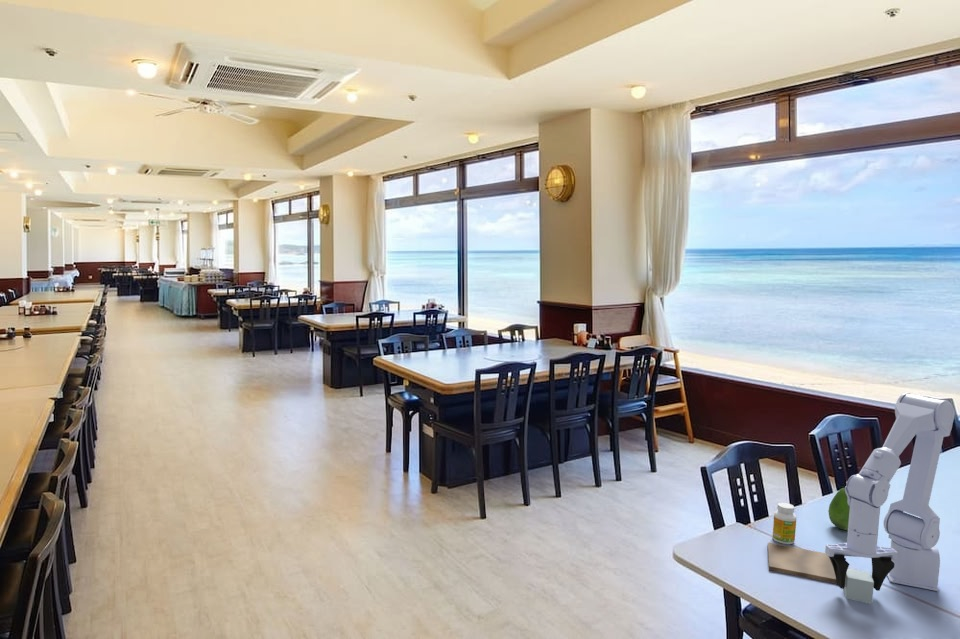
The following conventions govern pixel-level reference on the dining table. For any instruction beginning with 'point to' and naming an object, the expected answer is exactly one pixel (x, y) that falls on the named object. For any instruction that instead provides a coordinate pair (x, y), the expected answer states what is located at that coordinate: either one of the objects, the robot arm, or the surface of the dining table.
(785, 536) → the supplement bottle
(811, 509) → the dining table surface
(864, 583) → the pale blue-gray cube
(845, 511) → the avocado
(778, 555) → the brown wooden board
